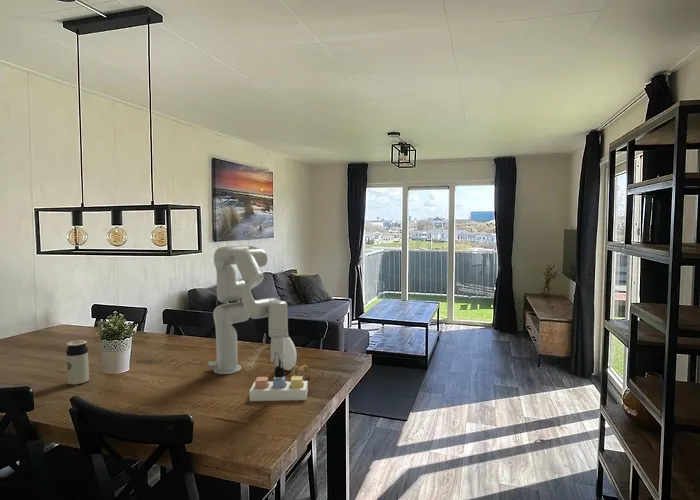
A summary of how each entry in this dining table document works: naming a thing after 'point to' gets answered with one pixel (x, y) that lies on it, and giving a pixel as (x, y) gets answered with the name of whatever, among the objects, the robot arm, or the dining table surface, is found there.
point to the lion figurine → (300, 371)
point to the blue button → (279, 382)
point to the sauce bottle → (289, 355)
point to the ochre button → (296, 381)
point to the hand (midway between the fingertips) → (279, 376)
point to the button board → (279, 392)
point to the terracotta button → (261, 383)
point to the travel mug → (77, 362)
